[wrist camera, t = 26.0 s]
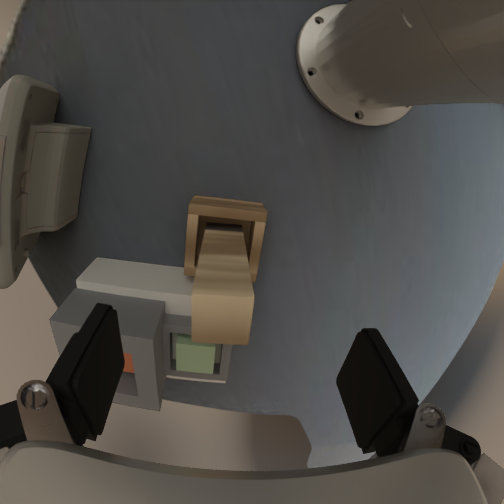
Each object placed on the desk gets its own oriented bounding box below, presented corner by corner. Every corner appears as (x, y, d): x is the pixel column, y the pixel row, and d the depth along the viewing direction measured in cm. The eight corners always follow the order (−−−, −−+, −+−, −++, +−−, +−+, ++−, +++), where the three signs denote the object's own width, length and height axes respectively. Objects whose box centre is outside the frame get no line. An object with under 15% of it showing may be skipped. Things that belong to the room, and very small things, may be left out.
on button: (178, 328, 24) (175, 343, 22) (215, 332, 24) (215, 347, 22) (178, 355, 25) (176, 370, 23) (213, 358, 25) (212, 374, 23)
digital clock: (52, 79, 19) (-18, 65, 9) (121, 104, 21) (59, 88, 11) (10, 222, 23) (-51, 260, 13) (68, 256, 26) (12, 310, 16)
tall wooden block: (206, 222, 24) (191, 293, 13) (241, 224, 25) (254, 297, 14) (205, 254, 26) (191, 341, 14) (238, 256, 26) (248, 344, 15)
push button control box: (95, 256, 26) (47, 310, 16) (234, 272, 28) (239, 339, 18) (105, 335, 29) (75, 397, 20) (224, 351, 31) (226, 422, 22)
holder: (194, 195, 24) (189, 203, 21) (262, 202, 25) (267, 212, 22) (188, 258, 27) (183, 275, 23) (252, 264, 27) (255, 282, 24)
